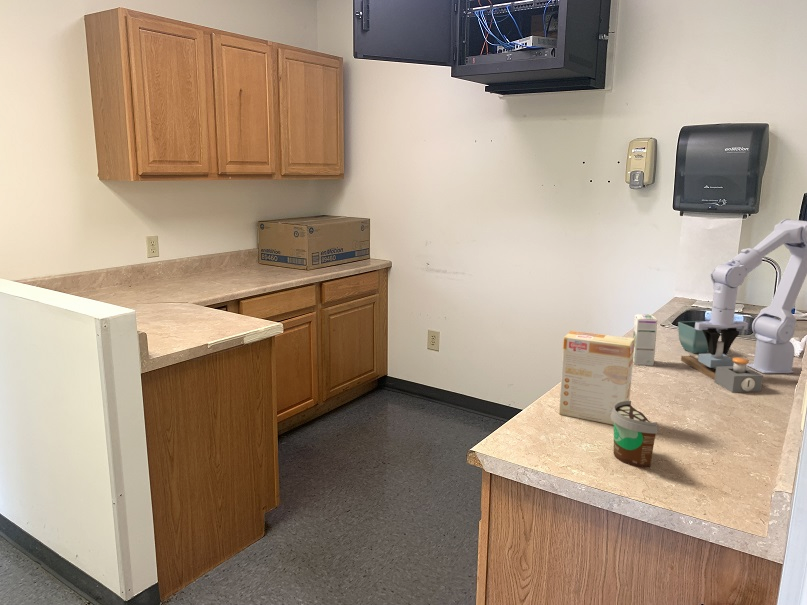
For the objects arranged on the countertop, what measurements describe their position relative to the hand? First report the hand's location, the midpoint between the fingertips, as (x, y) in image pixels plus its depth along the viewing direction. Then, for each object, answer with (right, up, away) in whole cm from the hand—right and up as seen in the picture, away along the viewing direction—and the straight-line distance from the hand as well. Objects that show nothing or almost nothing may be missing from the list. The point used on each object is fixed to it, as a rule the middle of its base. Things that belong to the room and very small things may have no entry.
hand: (717, 353), depth 172 cm
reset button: (+1, -4, -9) cm, 10 cm away
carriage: (0, -3, +1) cm, 3 cm away
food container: (-45, -17, -49) cm, 68 cm away
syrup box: (-17, -4, +12) cm, 21 cm away
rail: (0, -5, +5) cm, 7 cm away
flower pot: (+5, -1, +23) cm, 24 cm away
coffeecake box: (-44, -13, -28) cm, 54 cm away
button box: (+1, -8, -8) cm, 12 cm away
